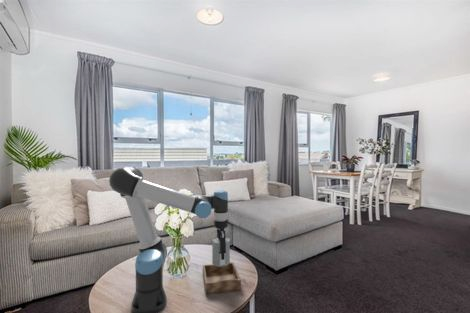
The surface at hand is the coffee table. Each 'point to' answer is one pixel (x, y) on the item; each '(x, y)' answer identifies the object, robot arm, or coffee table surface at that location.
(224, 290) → the walnut box
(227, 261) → the speckled white tin can
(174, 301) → the coffee table surface
